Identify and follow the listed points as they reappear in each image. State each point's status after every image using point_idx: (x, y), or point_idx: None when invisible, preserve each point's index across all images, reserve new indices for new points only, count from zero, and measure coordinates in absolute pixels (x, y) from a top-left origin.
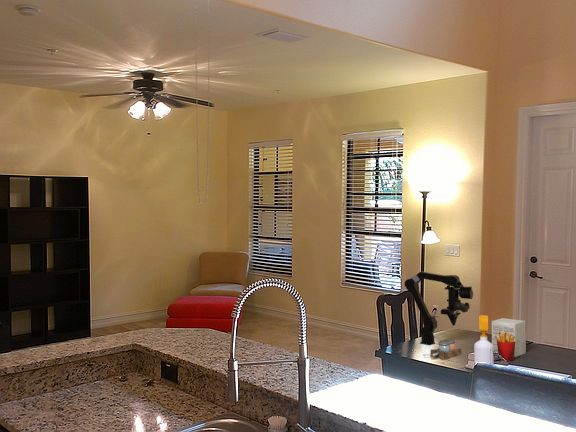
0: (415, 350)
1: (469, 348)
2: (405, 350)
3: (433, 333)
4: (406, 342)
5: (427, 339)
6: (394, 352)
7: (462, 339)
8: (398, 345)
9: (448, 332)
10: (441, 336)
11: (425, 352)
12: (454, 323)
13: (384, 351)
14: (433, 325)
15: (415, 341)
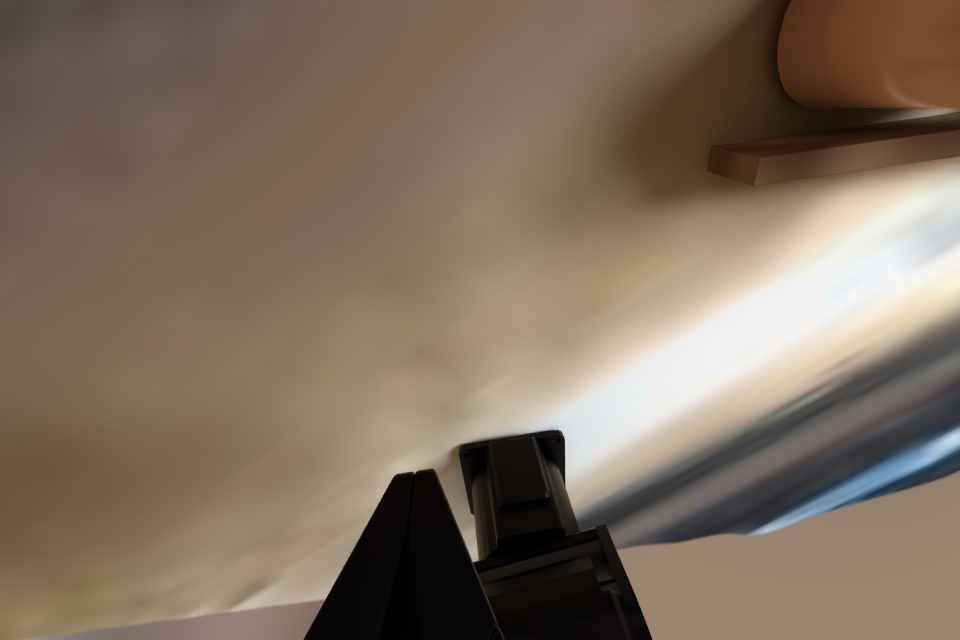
0: (815, 376)
1: (323, 60)
2: (851, 414)
3: (502, 533)
4: None
5: (561, 488)
6: (952, 415)
7: (52, 422)
8: (715, 519)
9: (19, 614)
10: (191, 560)
11: (857, 281)
12: (436, 512)
13: (942, 462)
14: (616, 628)
15: None
